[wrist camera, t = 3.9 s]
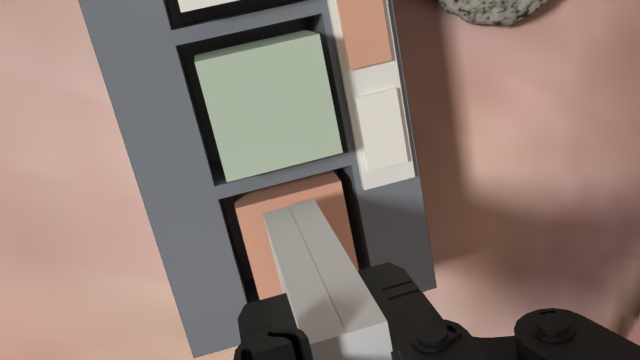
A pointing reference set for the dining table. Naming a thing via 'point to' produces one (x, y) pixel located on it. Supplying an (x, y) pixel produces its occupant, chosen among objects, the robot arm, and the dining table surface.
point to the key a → (199, 4)
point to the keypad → (217, 194)
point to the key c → (270, 198)
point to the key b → (269, 103)
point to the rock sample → (491, 10)
